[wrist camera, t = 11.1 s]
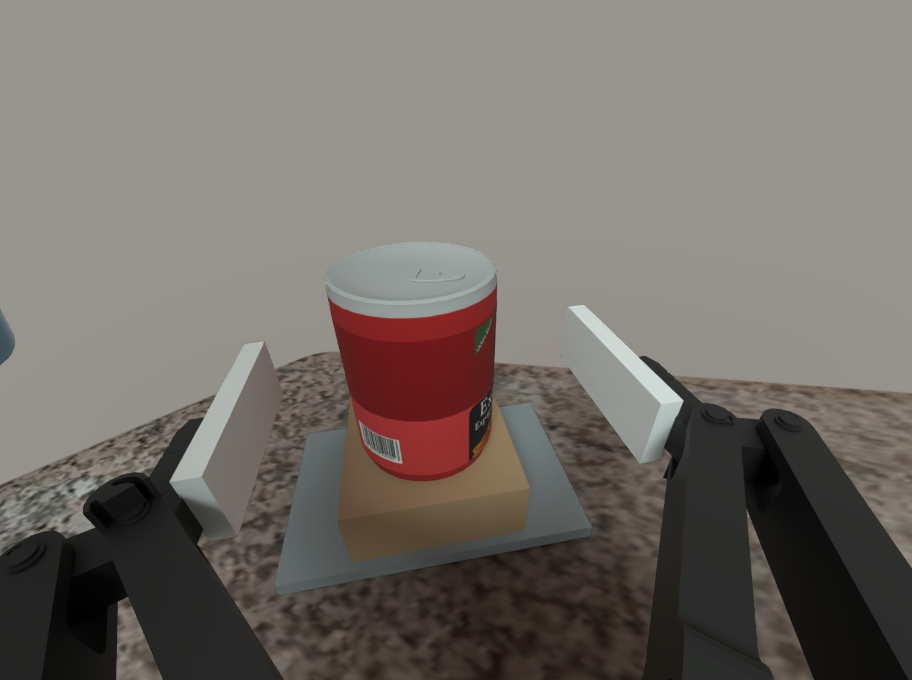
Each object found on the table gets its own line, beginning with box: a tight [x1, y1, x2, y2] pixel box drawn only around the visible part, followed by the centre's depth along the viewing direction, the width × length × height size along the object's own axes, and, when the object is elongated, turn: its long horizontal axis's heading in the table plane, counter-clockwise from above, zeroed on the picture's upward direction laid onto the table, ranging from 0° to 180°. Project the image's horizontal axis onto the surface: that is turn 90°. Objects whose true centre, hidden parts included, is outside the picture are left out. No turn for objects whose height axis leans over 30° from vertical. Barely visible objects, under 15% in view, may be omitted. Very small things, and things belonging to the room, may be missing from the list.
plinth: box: [274, 394, 592, 595], centre depth 25 cm, size 18×11×5 cm, turn 100°
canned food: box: [325, 242, 497, 481], centre depth 20 cm, size 8×8×11 cm
